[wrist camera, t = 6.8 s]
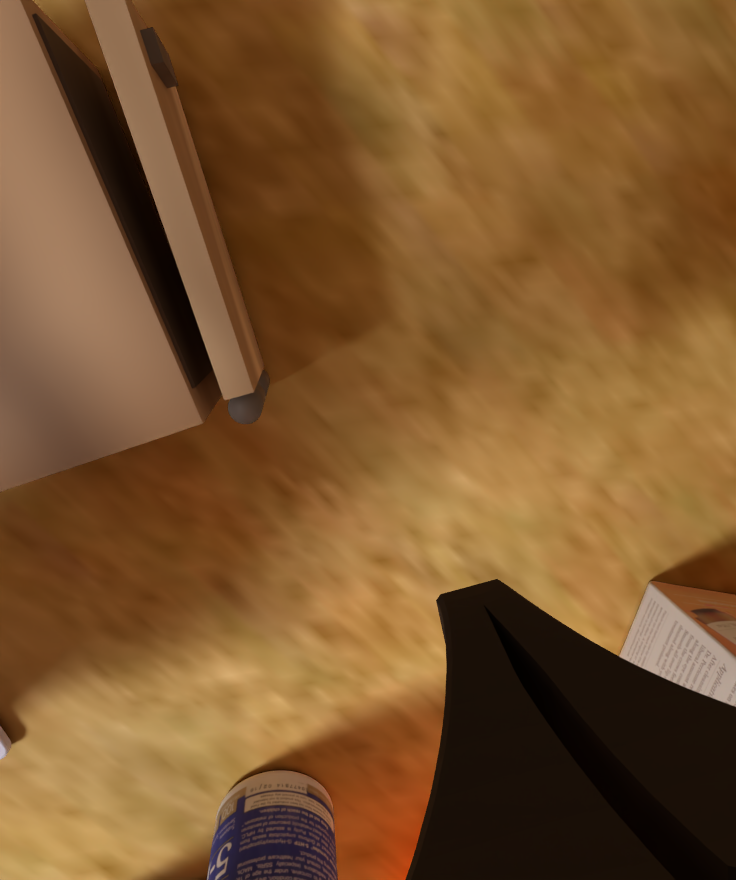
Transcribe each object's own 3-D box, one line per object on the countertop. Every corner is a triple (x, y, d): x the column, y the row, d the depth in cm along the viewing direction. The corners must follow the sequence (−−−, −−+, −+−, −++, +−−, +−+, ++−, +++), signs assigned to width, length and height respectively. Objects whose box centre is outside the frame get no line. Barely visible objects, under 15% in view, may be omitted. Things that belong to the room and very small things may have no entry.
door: (248, 395, 19) (232, 430, 14) (139, 69, 16) (76, -14, 11) (280, 386, 19) (274, 419, 14) (178, 59, 16) (131, -26, 11)
